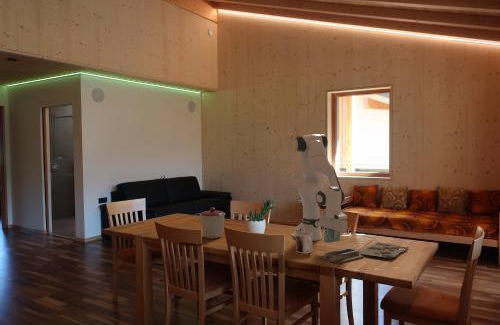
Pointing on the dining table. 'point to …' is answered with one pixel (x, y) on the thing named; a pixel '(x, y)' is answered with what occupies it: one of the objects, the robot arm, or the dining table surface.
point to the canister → (212, 223)
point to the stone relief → (382, 250)
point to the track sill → (342, 255)
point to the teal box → (330, 236)
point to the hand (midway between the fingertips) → (332, 236)
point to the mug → (304, 242)
